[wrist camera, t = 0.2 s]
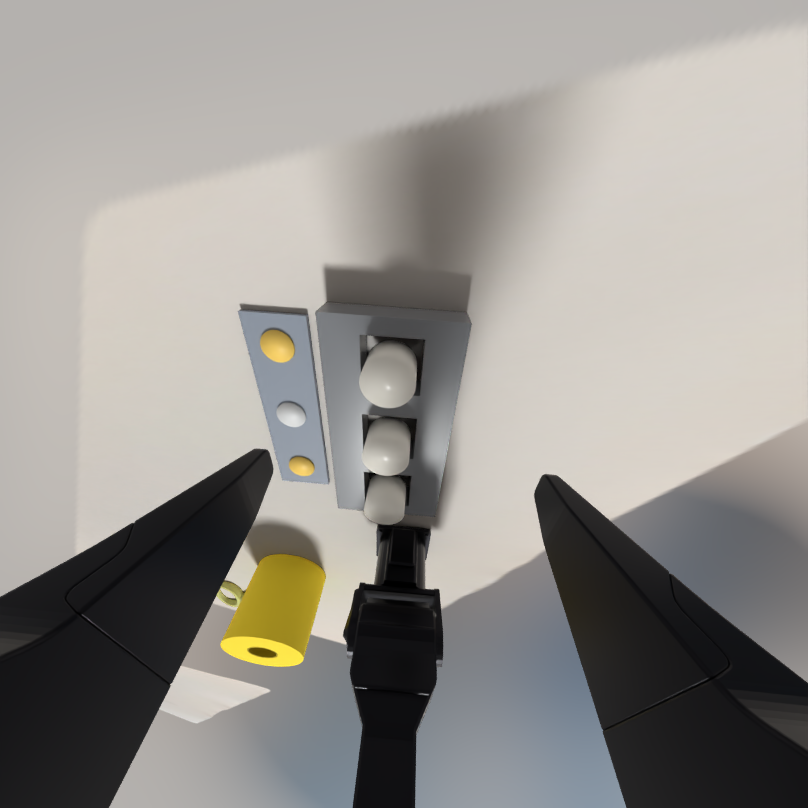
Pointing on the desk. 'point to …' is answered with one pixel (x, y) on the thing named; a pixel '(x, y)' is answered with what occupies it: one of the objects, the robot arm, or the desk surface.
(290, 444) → the pattern card
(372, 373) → the button
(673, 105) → the desk surface
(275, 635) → the yellow cylinder with hole
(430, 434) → the button panel
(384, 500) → the button
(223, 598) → the key
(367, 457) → the button middle
